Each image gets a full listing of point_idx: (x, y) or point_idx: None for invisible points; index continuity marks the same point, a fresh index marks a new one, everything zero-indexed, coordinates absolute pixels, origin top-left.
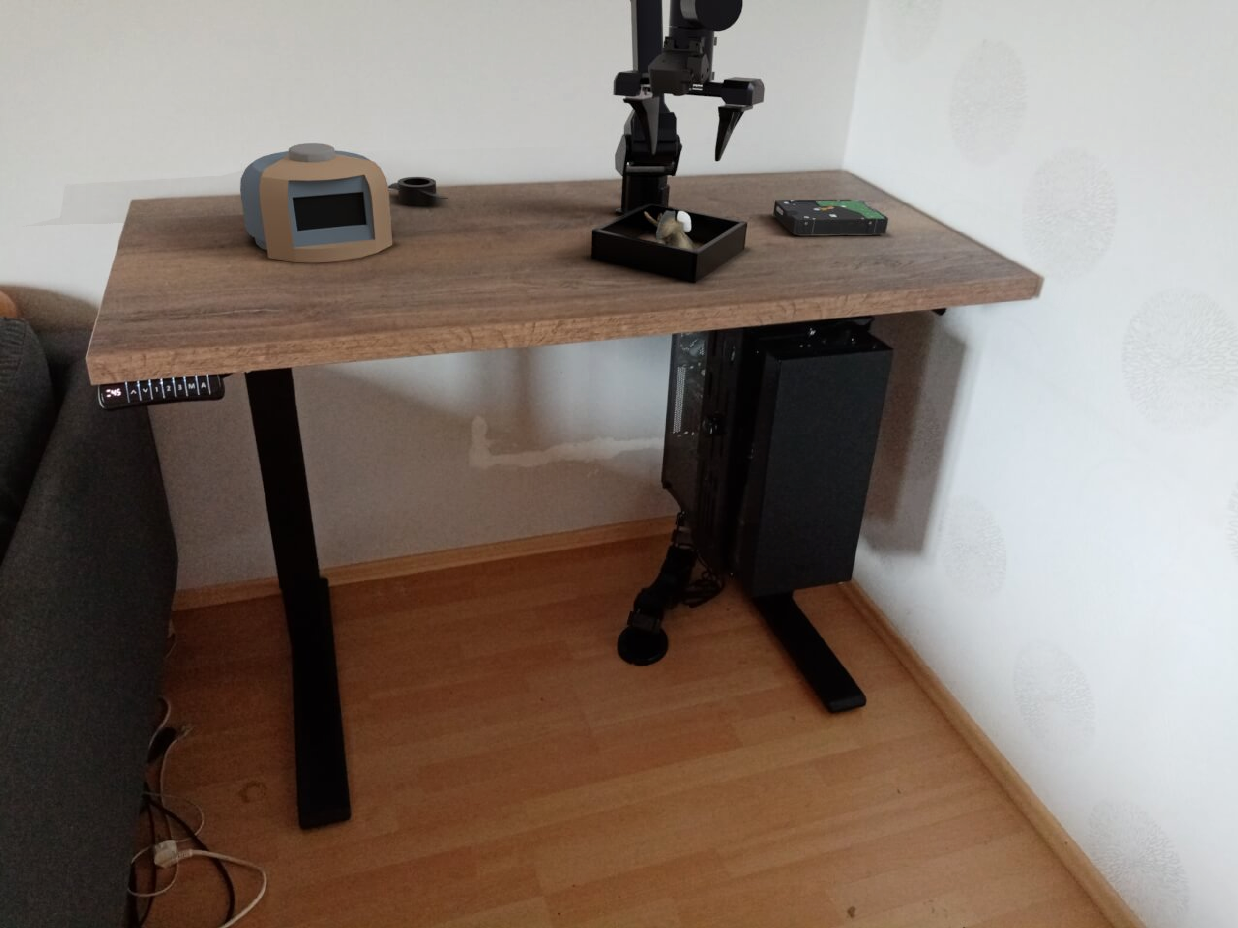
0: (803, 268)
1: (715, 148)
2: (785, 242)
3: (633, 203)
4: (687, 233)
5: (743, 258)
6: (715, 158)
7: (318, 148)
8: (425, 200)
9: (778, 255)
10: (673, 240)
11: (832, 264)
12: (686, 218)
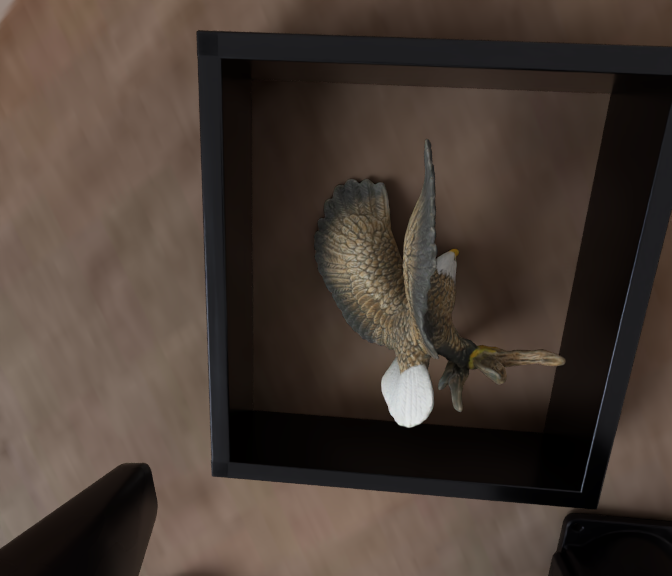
0: (46, 367)
1: (85, 533)
2: (175, 529)
3: (660, 558)
4: (415, 433)
5: None
6: (130, 472)
7: None
8: None
9: (144, 429)
10: (398, 272)
11: (6, 434)
12: (401, 402)
